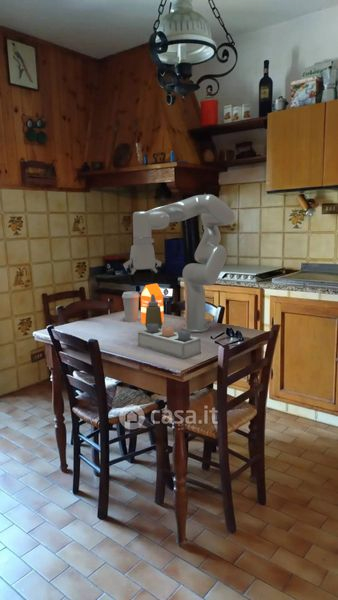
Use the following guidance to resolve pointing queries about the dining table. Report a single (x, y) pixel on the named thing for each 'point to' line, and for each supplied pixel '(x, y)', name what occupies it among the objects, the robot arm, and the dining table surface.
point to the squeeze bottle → (153, 312)
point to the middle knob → (167, 332)
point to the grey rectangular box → (169, 344)
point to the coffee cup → (131, 305)
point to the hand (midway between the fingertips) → (143, 282)
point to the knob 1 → (152, 328)
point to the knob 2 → (184, 335)
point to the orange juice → (147, 298)
